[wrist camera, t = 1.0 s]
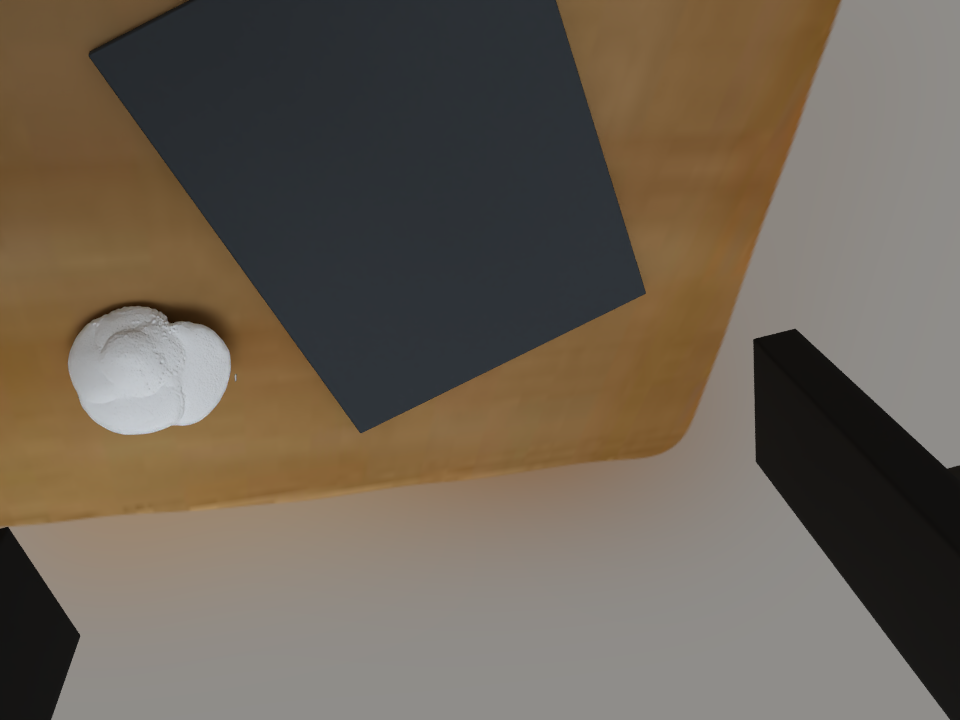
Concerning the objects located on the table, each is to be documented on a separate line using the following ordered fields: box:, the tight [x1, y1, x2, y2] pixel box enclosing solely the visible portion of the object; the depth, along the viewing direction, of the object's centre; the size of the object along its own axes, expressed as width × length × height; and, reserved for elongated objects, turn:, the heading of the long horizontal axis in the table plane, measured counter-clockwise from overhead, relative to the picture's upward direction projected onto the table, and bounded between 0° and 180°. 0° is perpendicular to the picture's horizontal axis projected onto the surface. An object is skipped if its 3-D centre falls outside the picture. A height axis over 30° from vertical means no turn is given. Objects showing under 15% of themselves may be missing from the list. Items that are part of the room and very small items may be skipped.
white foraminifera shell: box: [68, 306, 236, 435], centre depth 36 cm, size 7×5×4 cm
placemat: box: [89, 0, 646, 433], centre depth 36 cm, size 22×17×1 cm
